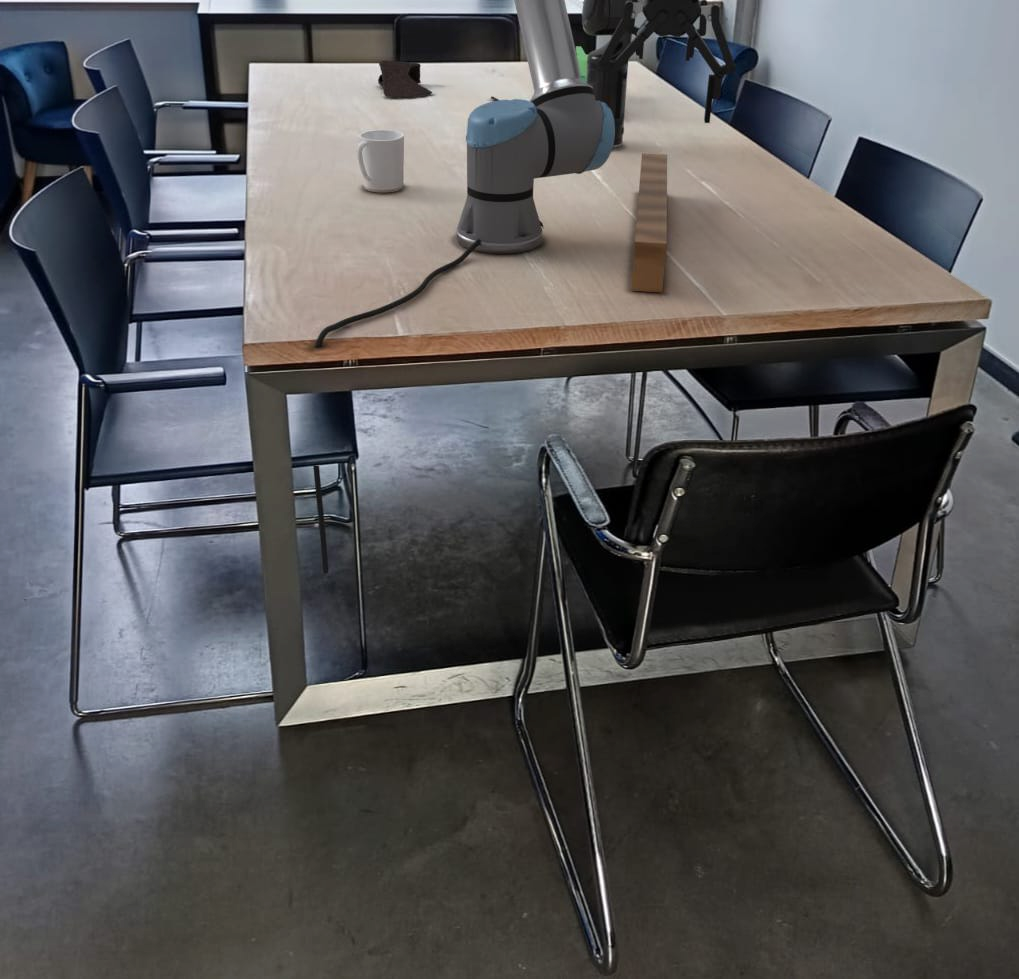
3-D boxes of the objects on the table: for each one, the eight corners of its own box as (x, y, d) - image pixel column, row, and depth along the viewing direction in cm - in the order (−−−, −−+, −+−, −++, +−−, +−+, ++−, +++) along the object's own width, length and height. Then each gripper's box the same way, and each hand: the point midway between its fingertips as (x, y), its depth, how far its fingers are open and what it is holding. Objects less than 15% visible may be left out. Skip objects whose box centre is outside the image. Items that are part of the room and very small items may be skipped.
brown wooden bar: (662, 292, 176) (666, 243, 171) (630, 290, 176) (634, 241, 172) (663, 194, 222) (667, 154, 218) (638, 193, 222) (642, 153, 218)
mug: (383, 178, 227) (381, 127, 222) (414, 186, 223) (413, 135, 217) (344, 189, 220) (341, 137, 215) (376, 198, 215) (373, 145, 210)
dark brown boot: (443, 87, 294) (392, 77, 287) (436, 115, 299) (385, 106, 292) (421, 62, 307) (371, 52, 300) (414, 89, 311) (365, 80, 304)
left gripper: (762, -34, 158) (743, 117, 169) (590, -40, 161) (582, 109, 172) (766, -28, 152) (745, 128, 163) (587, -35, 154) (579, 120, 165)
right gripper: (712, -39, 196) (702, 57, 205) (632, -41, 197) (625, 54, 206) (713, -34, 190) (703, 65, 198) (631, -37, 191) (624, 61, 200)
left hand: (662, 119), depth 167 cm, fingers open, 13 cm apart
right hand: (663, 59), depth 202 cm, fingers open, 8 cm apart
